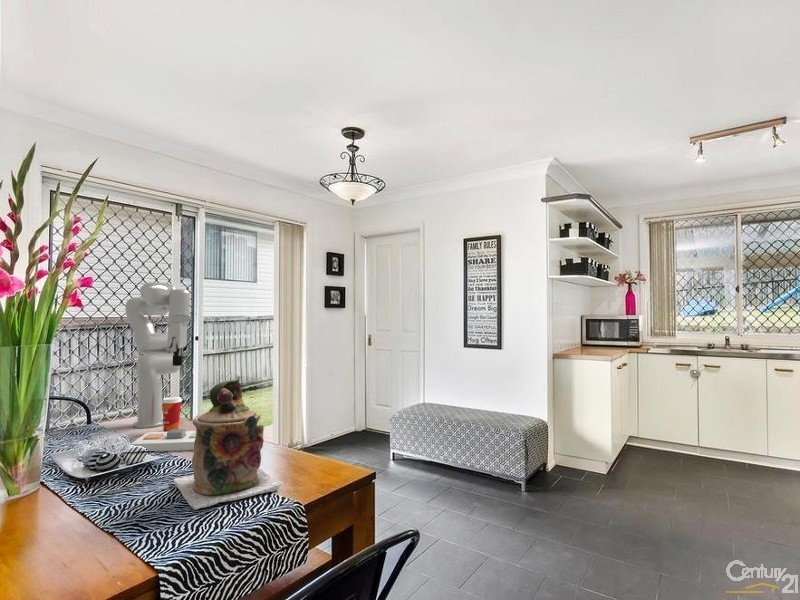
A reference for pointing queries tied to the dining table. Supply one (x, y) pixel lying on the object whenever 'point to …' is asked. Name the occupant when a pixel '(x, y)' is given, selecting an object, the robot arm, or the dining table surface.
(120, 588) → the dining table surface
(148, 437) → the terracotta key
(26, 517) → the dining table surface
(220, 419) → the cookie jar
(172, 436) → the charcoal key
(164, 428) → the paper cup
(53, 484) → the dining table surface
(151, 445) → the keypad
